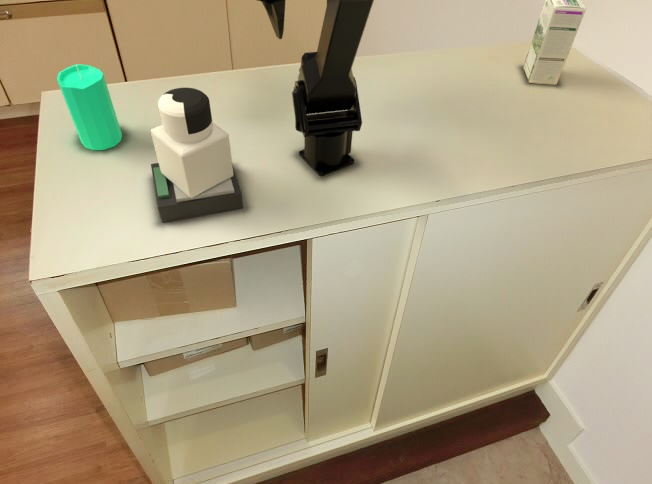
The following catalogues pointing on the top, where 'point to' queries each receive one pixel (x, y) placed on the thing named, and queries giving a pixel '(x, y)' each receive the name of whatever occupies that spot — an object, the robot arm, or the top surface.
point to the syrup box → (553, 40)
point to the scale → (194, 198)
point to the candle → (90, 106)
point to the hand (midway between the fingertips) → (305, 31)
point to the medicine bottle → (191, 142)
